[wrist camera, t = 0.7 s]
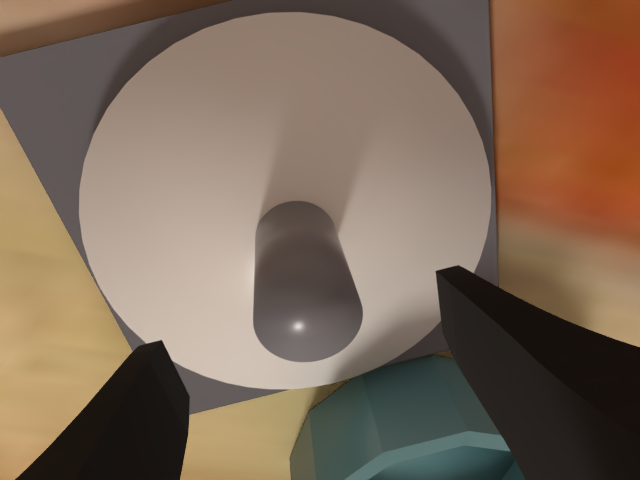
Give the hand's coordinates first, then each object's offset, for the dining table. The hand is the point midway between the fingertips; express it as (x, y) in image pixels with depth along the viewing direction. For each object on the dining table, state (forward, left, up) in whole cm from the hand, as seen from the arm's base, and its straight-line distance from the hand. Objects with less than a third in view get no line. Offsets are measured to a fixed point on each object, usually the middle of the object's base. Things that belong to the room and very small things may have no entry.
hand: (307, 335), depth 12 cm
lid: (0, 0, -6) cm, 6 cm away
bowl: (-3, +15, -7) cm, 17 cm away
